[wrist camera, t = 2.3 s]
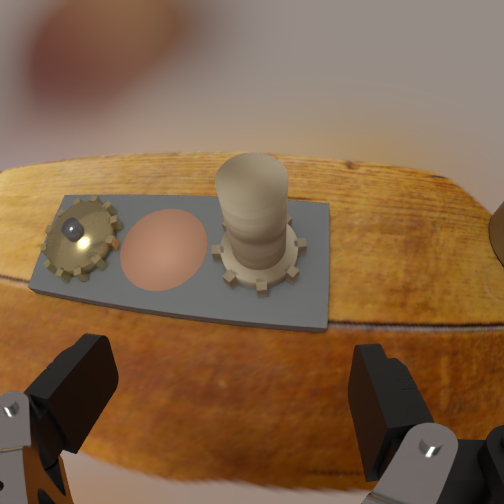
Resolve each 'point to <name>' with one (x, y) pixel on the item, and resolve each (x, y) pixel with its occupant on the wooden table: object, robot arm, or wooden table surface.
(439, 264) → the wooden table surface
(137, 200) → the gear board
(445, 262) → the wooden table surface
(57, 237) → the brass gear
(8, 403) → the robot arm
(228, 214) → the beech gear spindle
